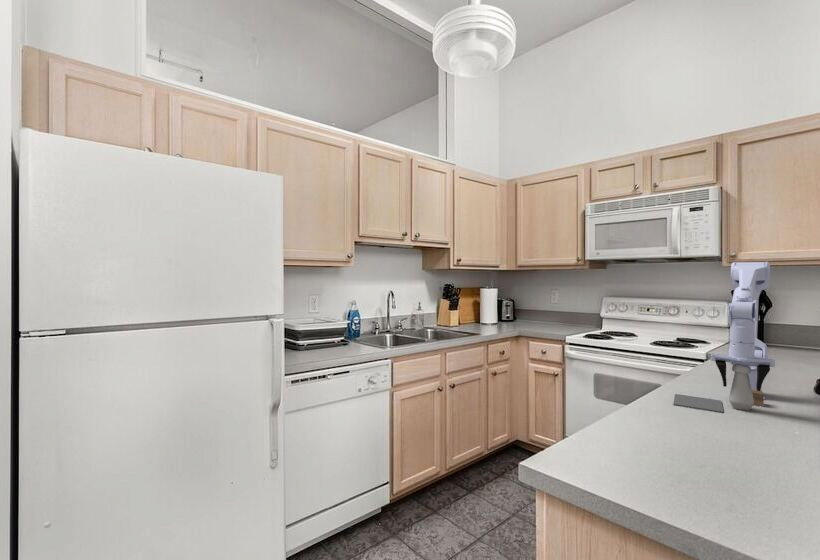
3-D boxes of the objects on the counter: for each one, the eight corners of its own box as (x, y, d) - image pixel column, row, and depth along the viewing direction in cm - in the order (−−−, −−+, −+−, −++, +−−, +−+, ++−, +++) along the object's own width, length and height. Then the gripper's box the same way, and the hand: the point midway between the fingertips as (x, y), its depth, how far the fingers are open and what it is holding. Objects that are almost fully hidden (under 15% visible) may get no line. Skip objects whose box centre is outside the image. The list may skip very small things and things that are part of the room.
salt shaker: (744, 405, 123) (745, 362, 123) (758, 412, 117) (759, 367, 117) (723, 404, 123) (724, 362, 123) (737, 411, 118) (737, 366, 118)
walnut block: (744, 401, 128) (745, 388, 128) (761, 403, 125) (761, 390, 125) (746, 404, 124) (746, 391, 124) (763, 407, 122) (763, 393, 122)
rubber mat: (675, 395, 133) (675, 393, 133) (720, 401, 127) (721, 400, 127) (673, 405, 123) (673, 403, 123) (723, 413, 116) (723, 411, 116)
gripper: (711, 341, 121) (711, 386, 121) (777, 346, 113) (776, 395, 113) (711, 338, 127) (710, 381, 127) (773, 343, 118) (772, 389, 119)
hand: (741, 388), depth 120 cm, fingers open, 7 cm apart
